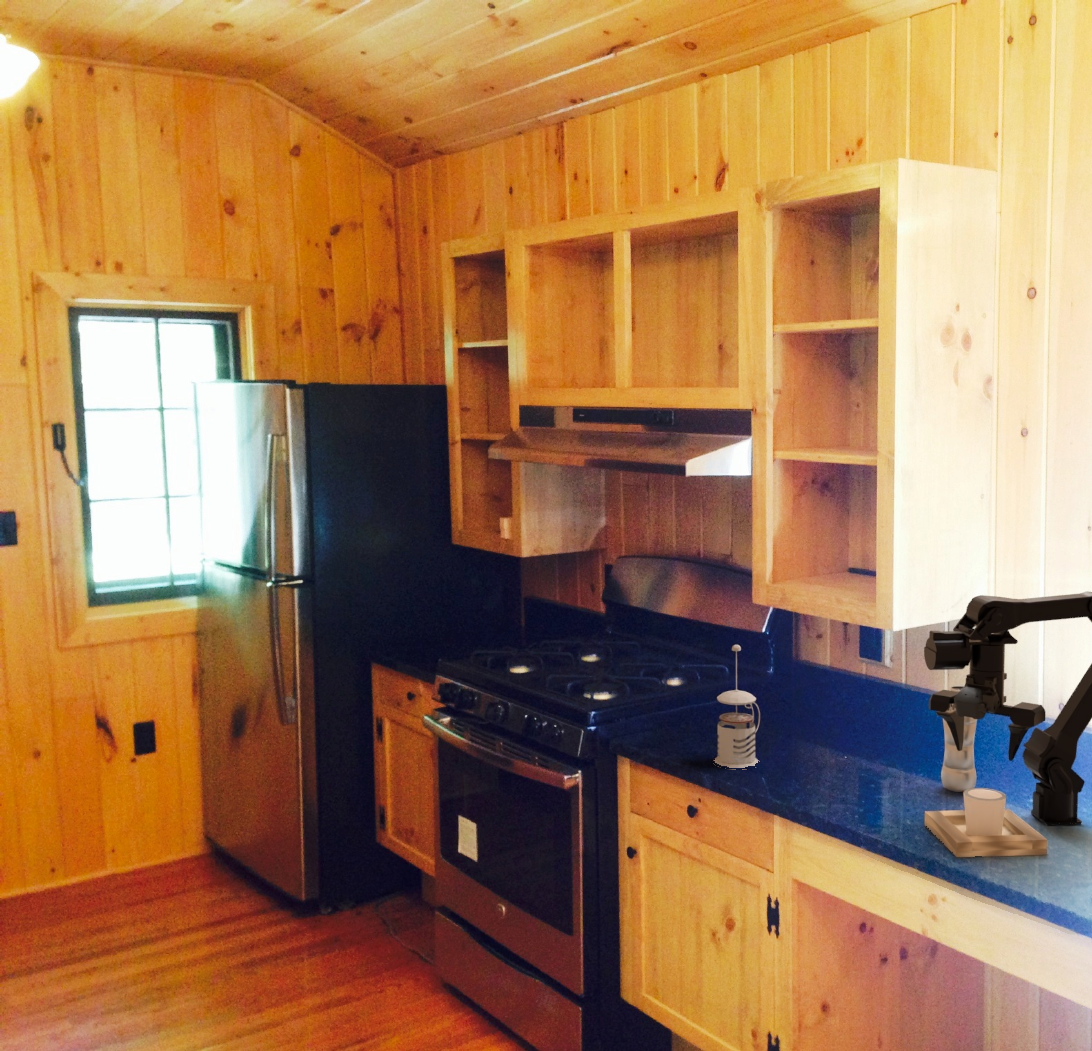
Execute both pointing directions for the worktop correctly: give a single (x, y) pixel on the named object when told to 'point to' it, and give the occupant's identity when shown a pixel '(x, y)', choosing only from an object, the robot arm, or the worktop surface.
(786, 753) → the worktop surface
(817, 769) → the worktop surface
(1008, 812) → the holder tray
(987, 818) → the white tapered cup
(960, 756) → the plastic bottle
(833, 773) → the worktop surface
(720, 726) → the french press
